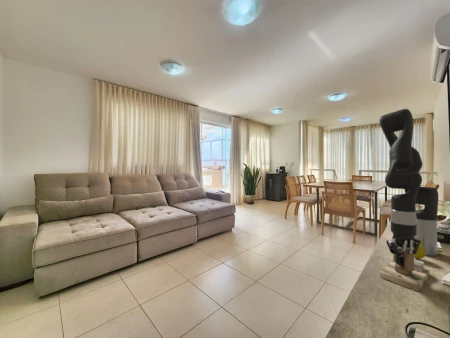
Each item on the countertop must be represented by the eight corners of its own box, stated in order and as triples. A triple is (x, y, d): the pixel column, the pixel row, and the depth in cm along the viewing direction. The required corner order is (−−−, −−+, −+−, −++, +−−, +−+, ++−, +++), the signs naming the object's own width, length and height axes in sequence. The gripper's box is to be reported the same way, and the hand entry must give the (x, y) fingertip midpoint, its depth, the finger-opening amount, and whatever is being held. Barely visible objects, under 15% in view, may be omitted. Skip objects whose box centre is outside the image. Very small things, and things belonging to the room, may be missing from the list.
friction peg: (389, 267, 79) (389, 247, 79) (402, 267, 79) (402, 247, 79) (407, 279, 71) (407, 256, 70) (422, 279, 70) (422, 257, 70)
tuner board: (394, 263, 86) (394, 253, 86) (429, 274, 77) (429, 263, 77) (379, 276, 76) (379, 265, 76) (418, 291, 67) (418, 278, 67)
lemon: (429, 262, 86) (428, 245, 86) (414, 261, 87) (414, 244, 87) (419, 256, 92) (419, 240, 91) (405, 256, 93) (405, 239, 93)
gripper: (407, 218, 80) (408, 258, 80) (378, 220, 78) (379, 262, 78) (429, 223, 72) (429, 268, 73) (398, 225, 70) (398, 271, 70)
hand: (403, 264), depth 75 cm, fingers closed on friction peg, 2 cm apart
